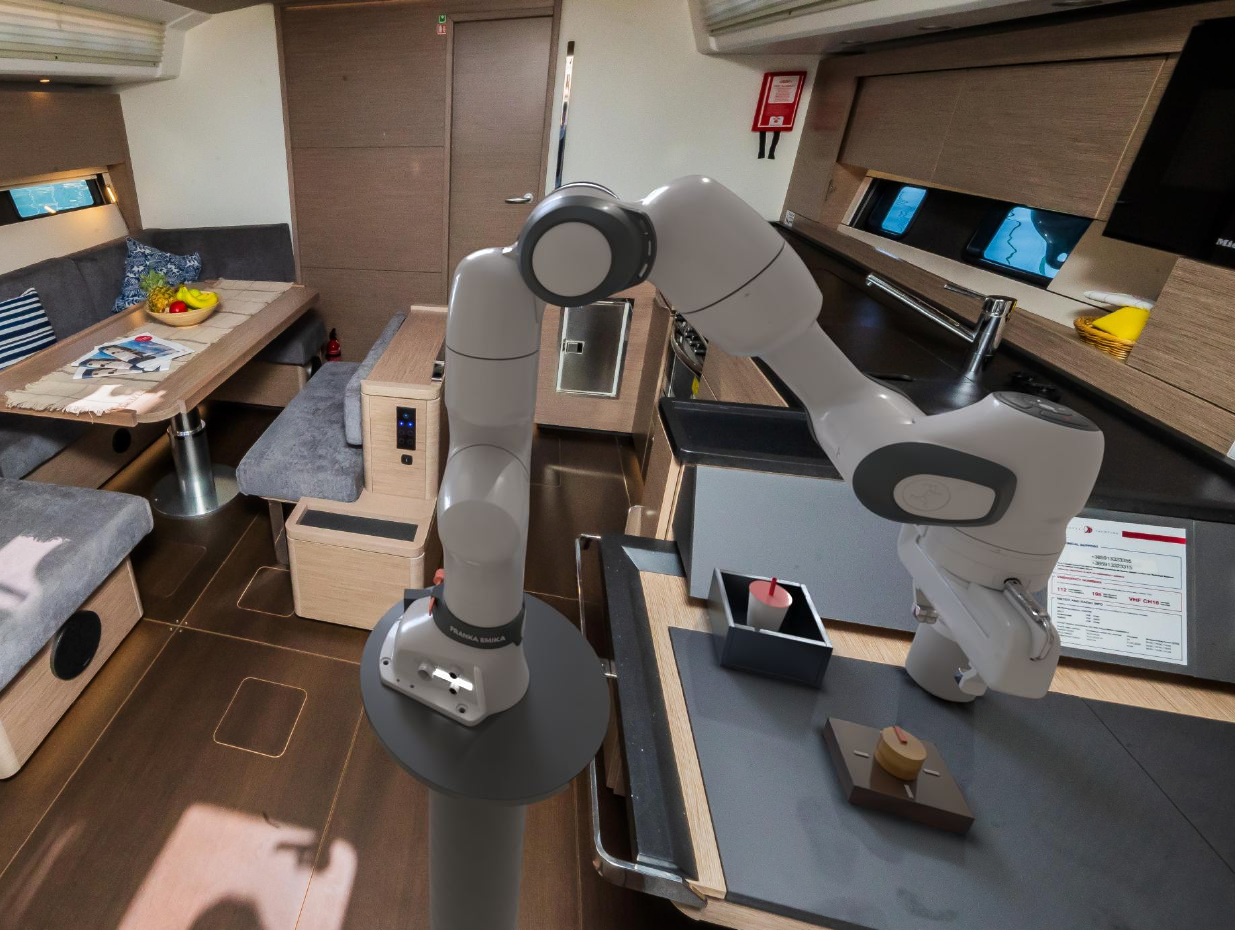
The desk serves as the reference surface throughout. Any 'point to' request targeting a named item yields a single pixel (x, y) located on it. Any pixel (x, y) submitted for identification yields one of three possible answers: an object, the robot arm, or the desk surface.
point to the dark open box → (768, 632)
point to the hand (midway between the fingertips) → (943, 651)
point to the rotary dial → (895, 780)
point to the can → (937, 661)
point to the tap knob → (900, 753)
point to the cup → (767, 605)
